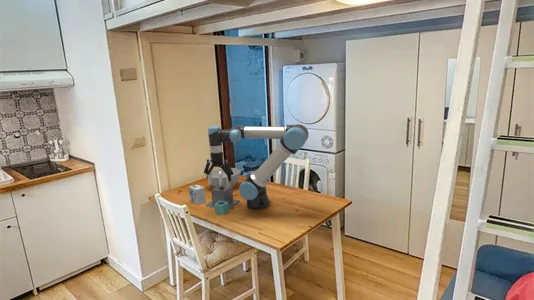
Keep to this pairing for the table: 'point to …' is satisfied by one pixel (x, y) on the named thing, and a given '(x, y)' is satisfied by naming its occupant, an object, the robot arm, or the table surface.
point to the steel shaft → (221, 180)
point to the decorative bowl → (224, 177)
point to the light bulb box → (197, 194)
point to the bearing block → (222, 196)
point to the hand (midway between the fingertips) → (219, 185)
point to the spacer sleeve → (221, 207)
